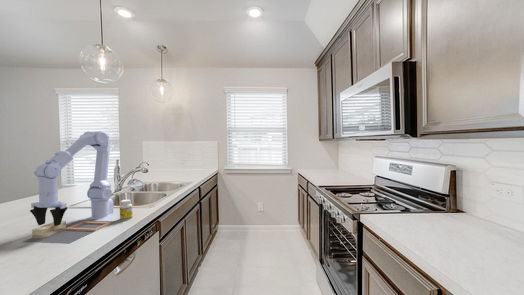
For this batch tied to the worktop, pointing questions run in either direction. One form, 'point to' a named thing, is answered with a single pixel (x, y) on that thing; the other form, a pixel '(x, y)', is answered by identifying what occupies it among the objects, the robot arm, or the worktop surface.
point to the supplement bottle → (126, 210)
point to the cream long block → (48, 230)
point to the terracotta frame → (88, 228)
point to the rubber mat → (69, 233)
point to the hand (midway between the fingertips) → (49, 224)
